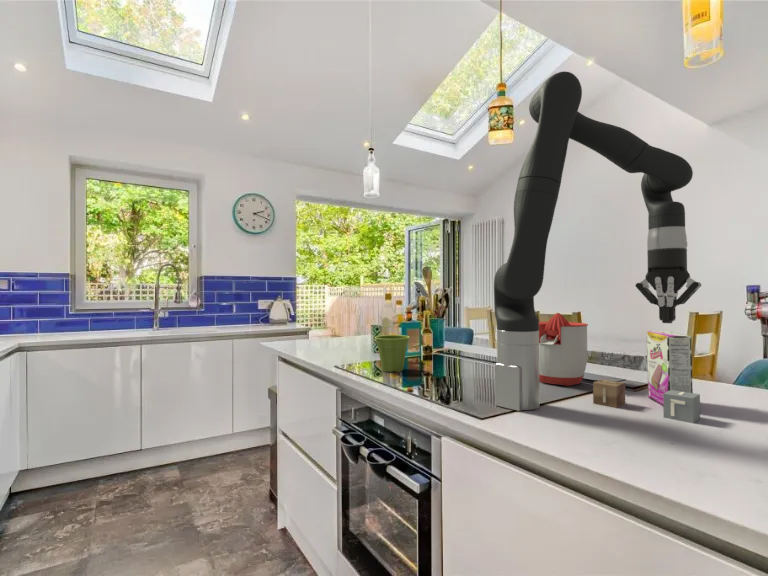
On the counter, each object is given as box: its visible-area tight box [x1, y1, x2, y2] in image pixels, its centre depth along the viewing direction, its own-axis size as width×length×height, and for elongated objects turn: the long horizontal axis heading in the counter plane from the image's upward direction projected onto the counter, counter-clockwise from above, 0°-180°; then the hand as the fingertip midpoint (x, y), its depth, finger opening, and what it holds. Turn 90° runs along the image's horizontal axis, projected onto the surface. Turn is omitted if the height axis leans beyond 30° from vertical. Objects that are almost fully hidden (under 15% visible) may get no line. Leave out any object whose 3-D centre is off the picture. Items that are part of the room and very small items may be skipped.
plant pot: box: [374, 334, 411, 373], centre depth 137 cm, size 12×12×11 cm
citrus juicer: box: [539, 312, 589, 387], centre depth 118 cm, size 16×17×20 cm
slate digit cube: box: [662, 390, 701, 424], centre depth 84 cm, size 5×5×5 cm
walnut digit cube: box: [592, 378, 626, 409], centre depth 94 cm, size 5×5×5 cm
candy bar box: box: [646, 330, 694, 406], centre depth 94 cm, size 11×5×16 cm, turn 169°
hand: (667, 322), depth 94 cm, fingers closed
